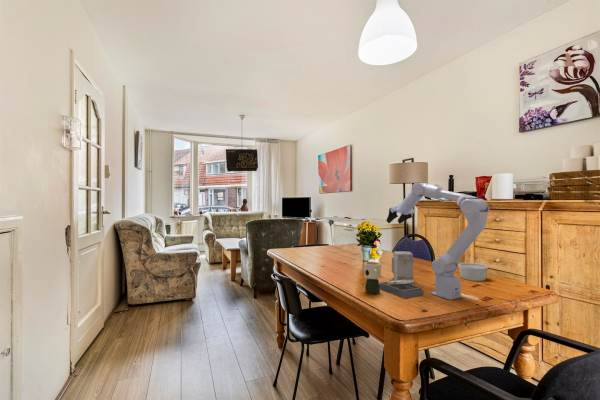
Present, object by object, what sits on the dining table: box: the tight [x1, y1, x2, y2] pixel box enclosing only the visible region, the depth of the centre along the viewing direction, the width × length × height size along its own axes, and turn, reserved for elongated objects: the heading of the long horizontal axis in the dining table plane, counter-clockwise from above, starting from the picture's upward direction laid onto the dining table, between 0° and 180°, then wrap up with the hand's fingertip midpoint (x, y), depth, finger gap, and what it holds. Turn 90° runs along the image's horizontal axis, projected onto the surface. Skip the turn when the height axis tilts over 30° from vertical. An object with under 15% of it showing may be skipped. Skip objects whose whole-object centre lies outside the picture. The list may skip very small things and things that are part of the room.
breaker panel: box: [379, 279, 425, 299], centre depth 133 cm, size 16×11×3 cm
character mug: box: [363, 261, 382, 294], centre depth 131 cm, size 11×7×13 cm, turn 2°
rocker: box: [386, 279, 415, 285], centre depth 133 cm, size 10×6×2 cm, turn 27°
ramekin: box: [458, 262, 489, 282], centre depth 154 cm, size 13×13×7 cm
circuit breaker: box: [391, 250, 415, 285], centre depth 149 cm, size 8×14×15 cm, turn 174°
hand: (393, 222), depth 151 cm, fingers open, 7 cm apart
